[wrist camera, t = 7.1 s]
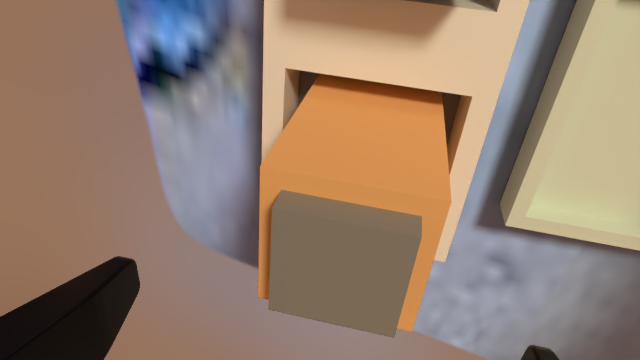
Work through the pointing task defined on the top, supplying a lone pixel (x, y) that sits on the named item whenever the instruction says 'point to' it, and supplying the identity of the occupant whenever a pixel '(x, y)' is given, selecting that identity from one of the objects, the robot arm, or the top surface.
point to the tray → (585, 134)
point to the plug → (354, 205)
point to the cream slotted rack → (396, 64)
